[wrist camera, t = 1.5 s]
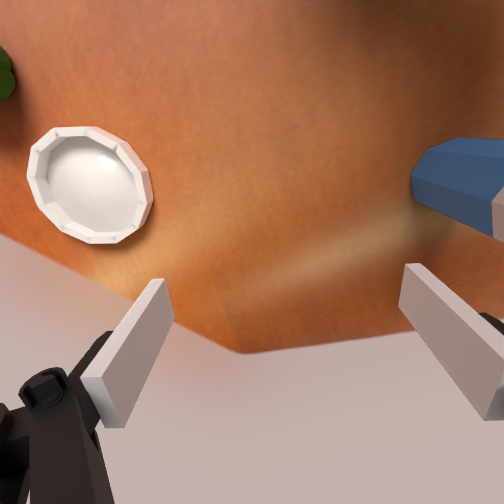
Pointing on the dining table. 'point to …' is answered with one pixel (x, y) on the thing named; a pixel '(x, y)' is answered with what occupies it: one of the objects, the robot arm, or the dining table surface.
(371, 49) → the dining table surface
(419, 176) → the water bottle
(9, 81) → the bell pepper
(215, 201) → the dining table surface
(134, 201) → the dish
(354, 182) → the dining table surface
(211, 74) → the dining table surface
